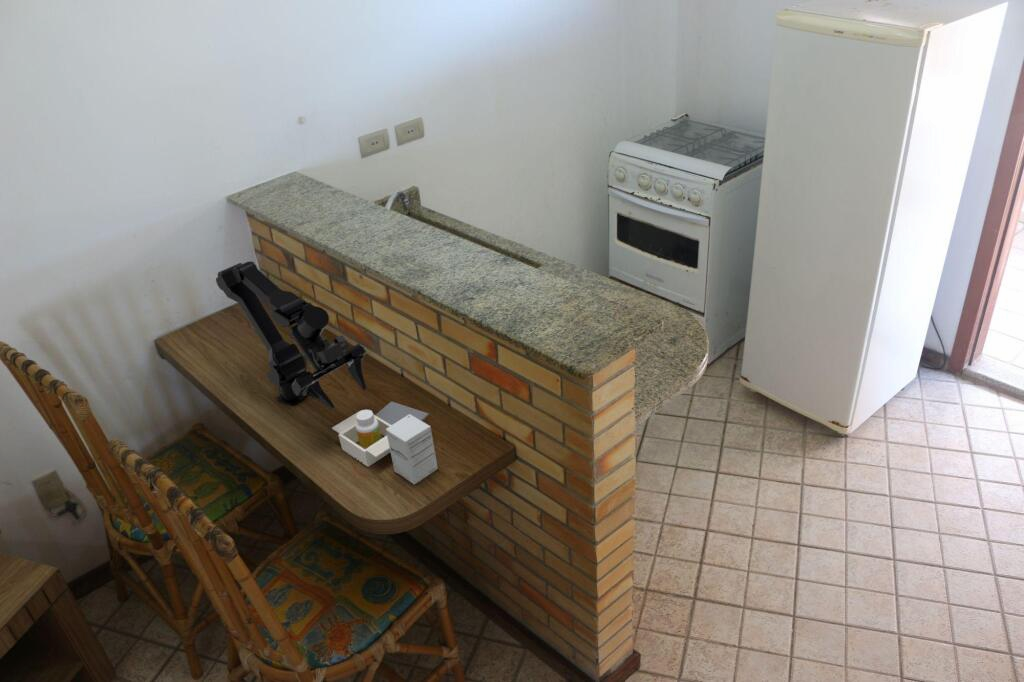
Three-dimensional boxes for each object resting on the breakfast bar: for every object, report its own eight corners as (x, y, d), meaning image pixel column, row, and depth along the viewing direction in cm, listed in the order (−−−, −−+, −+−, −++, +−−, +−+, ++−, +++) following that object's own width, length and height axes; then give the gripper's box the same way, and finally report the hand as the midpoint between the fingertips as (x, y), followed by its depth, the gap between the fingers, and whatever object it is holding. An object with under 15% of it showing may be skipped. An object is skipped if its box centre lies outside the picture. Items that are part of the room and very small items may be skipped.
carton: (333, 443, 203) (329, 429, 200) (367, 423, 208) (363, 408, 206) (377, 473, 192) (373, 458, 189) (411, 450, 198) (408, 435, 195)
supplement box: (393, 472, 192) (384, 428, 185) (418, 455, 196) (410, 412, 189) (414, 486, 187) (404, 441, 180) (439, 469, 191) (431, 425, 184)
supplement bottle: (379, 454, 197) (372, 422, 192) (357, 454, 198) (349, 421, 193) (386, 440, 202) (378, 407, 197) (364, 439, 203) (357, 407, 198)
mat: (371, 420, 209) (371, 418, 209) (391, 403, 215) (391, 401, 214) (409, 433, 203) (408, 431, 203) (428, 415, 209) (428, 413, 208)
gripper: (286, 349, 186) (325, 407, 185) (354, 314, 197) (391, 368, 196) (276, 367, 195) (313, 422, 194) (341, 332, 206) (376, 384, 205)
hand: (349, 399), depth 197 cm, fingers open, 9 cm apart
